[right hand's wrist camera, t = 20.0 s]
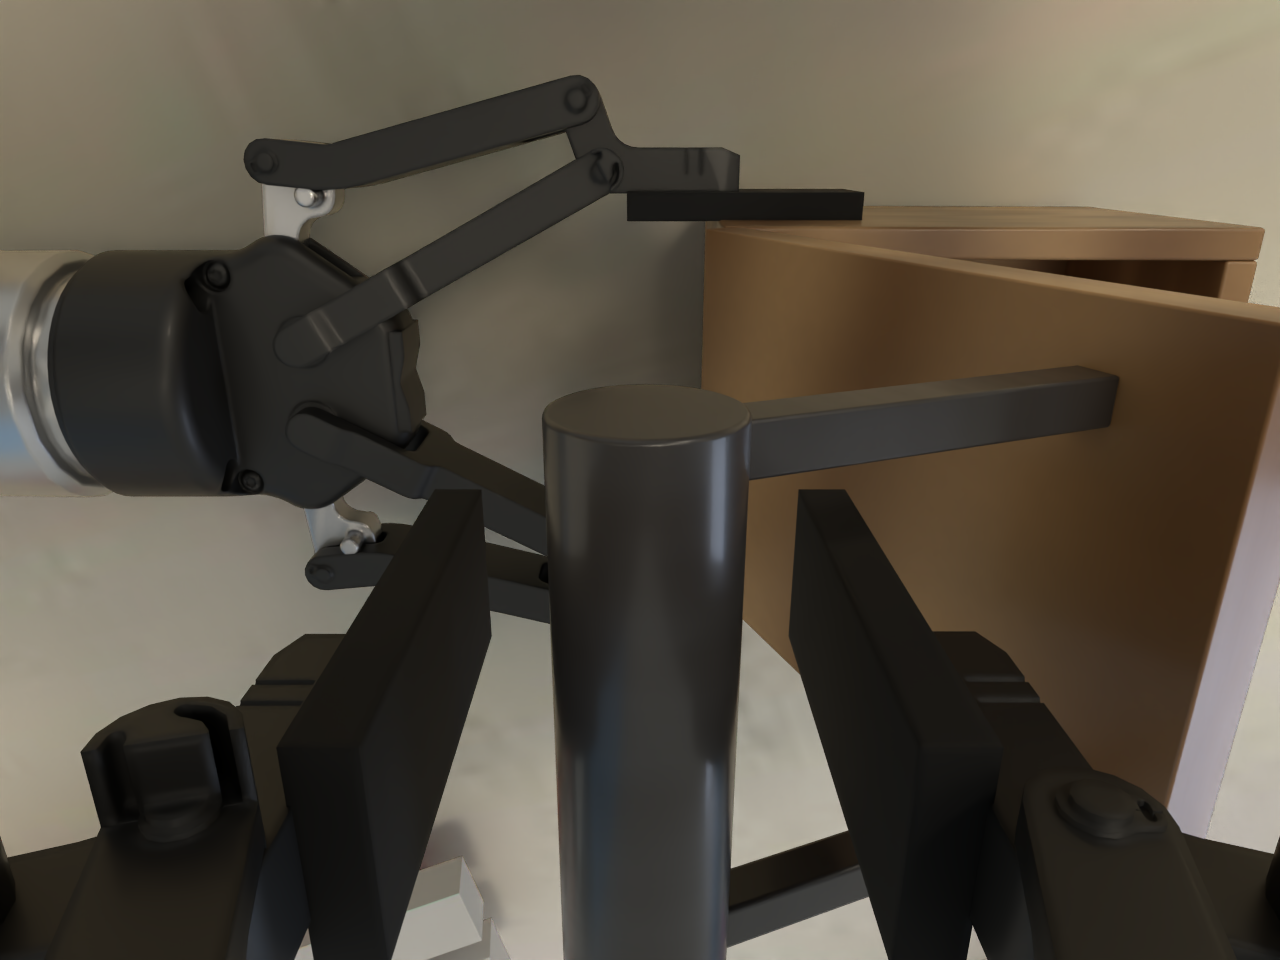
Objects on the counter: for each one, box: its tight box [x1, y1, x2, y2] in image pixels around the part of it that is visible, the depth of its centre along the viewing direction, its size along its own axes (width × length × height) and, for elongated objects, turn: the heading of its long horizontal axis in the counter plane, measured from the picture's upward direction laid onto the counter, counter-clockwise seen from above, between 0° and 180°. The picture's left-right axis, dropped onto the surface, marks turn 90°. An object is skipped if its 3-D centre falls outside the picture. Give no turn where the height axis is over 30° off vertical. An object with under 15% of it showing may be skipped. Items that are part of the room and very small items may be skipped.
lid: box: [542, 228, 1280, 960], centre depth 16 cm, size 14×9×9 cm
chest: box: [701, 206, 1265, 389], centre depth 28 cm, size 14×9×10 cm
